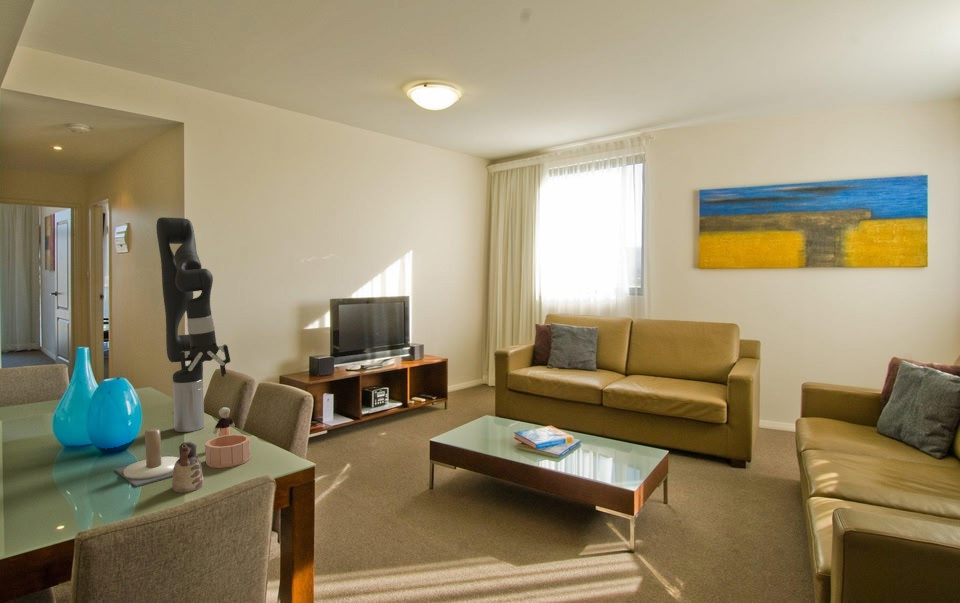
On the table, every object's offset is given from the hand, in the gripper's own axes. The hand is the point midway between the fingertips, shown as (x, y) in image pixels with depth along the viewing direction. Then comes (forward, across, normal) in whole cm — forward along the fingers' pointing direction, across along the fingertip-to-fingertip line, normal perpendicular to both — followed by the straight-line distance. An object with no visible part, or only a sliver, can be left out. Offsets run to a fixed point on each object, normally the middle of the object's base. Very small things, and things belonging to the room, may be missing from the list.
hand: (208, 378), depth 172 cm
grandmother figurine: (+20, -2, +11) cm, 23 cm away
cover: (+18, +17, +23) cm, 33 cm away
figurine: (+19, +9, +40) cm, 45 cm away
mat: (+18, +17, +23) cm, 34 cm away
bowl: (+20, -2, +25) cm, 32 cm away
